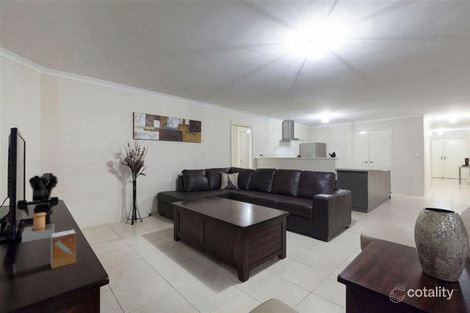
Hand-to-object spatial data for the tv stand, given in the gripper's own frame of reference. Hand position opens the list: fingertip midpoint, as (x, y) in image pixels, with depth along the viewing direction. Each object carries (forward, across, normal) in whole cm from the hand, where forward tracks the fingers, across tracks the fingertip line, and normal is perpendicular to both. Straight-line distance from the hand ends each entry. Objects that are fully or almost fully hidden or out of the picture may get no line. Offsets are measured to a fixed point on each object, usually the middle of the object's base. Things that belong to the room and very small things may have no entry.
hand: (38, 214), depth 130 cm
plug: (+12, 0, +4) cm, 13 cm away
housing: (+12, 0, +4) cm, 13 cm away
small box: (+48, +7, -31) cm, 58 cm away
